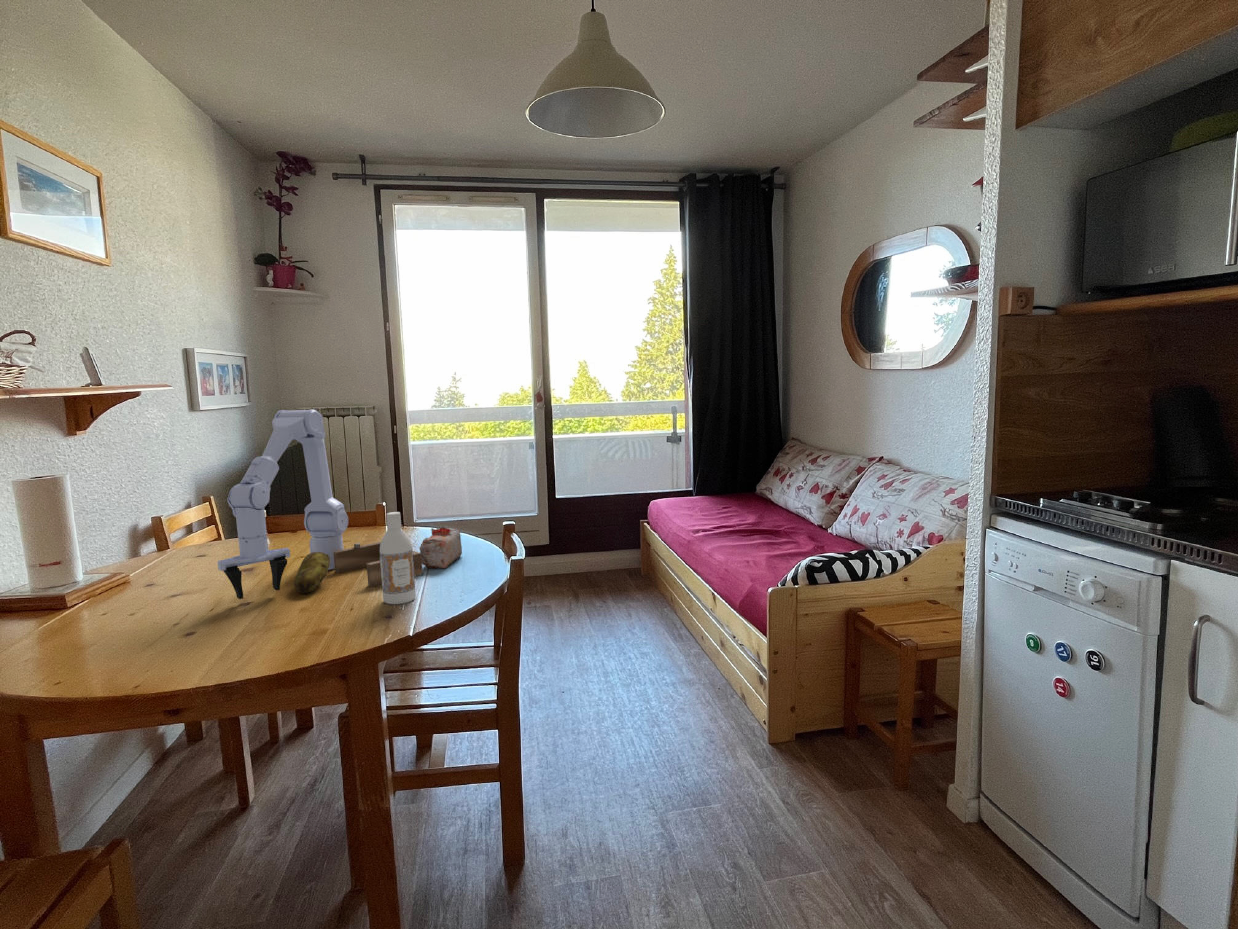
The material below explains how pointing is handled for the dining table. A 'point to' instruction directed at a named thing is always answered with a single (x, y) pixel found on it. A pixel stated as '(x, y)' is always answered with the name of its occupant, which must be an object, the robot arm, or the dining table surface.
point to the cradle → (368, 561)
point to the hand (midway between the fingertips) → (258, 593)
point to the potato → (311, 571)
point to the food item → (441, 548)
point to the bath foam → (396, 563)
